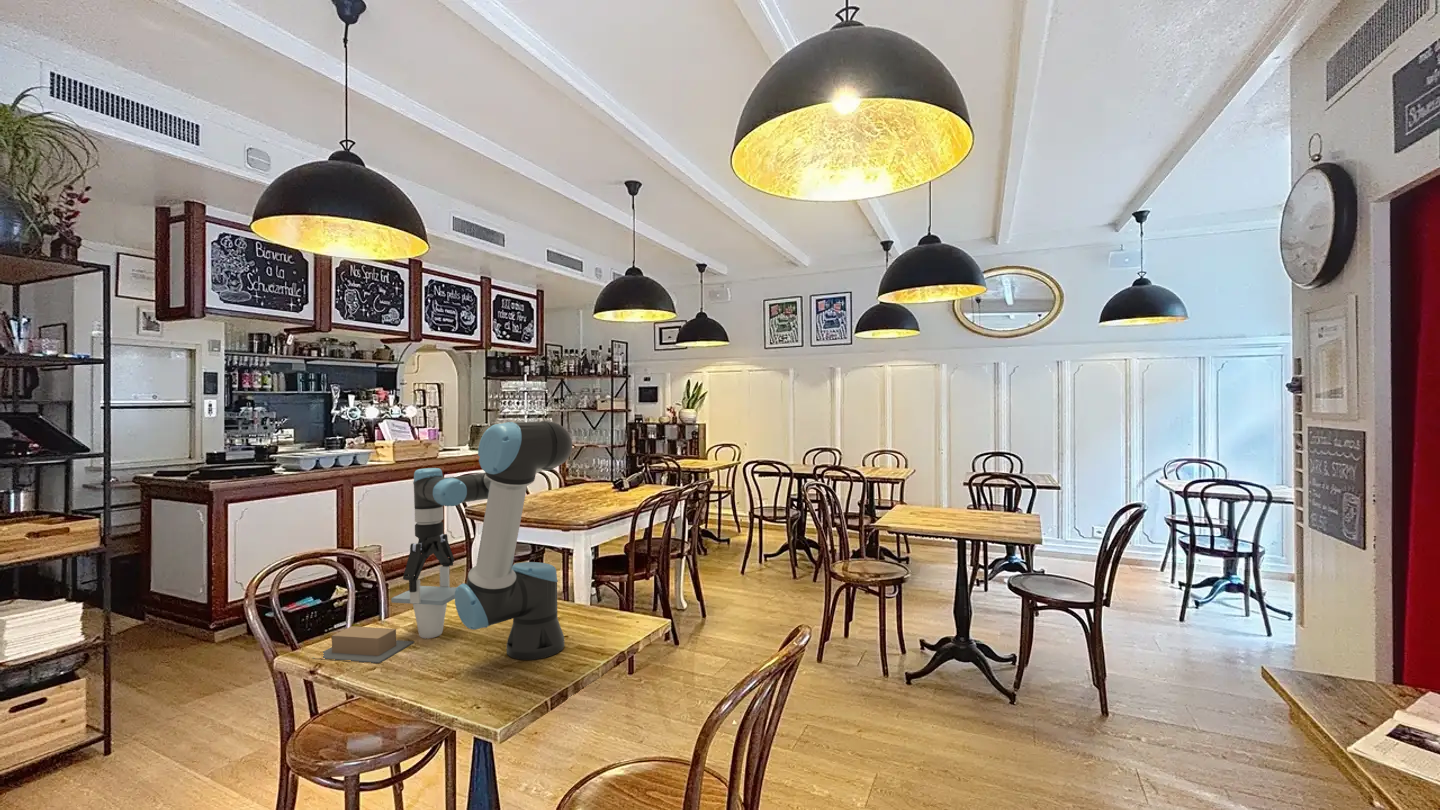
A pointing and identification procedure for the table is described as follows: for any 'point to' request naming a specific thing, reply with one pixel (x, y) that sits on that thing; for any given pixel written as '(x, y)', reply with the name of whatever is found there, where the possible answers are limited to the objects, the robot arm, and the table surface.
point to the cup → (430, 619)
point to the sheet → (429, 595)
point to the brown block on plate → (365, 644)
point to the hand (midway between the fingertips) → (430, 595)
